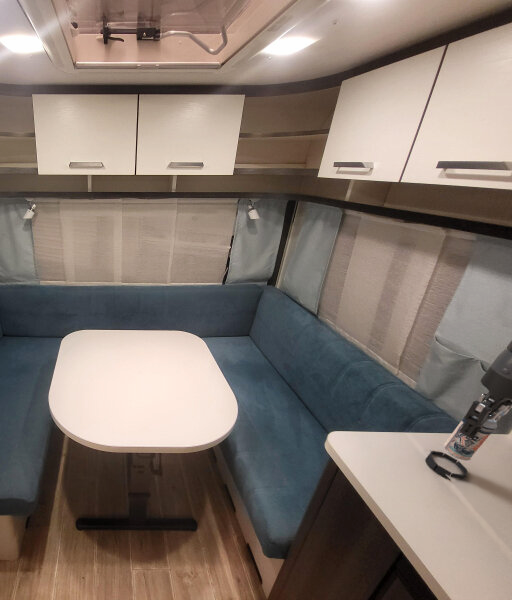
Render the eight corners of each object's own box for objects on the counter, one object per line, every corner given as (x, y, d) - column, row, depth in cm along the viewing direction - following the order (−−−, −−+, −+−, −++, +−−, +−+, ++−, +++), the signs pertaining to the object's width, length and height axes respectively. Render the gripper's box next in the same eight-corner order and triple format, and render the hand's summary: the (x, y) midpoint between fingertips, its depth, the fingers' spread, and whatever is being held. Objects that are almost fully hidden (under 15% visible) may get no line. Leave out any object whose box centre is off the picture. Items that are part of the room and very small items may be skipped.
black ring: (448, 459, 80) (452, 453, 79) (470, 484, 74) (475, 478, 73) (418, 454, 81) (422, 448, 80) (438, 478, 75) (443, 472, 74)
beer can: (442, 453, 74) (470, 416, 69) (441, 441, 78) (467, 405, 73) (470, 465, 72) (501, 428, 66) (468, 453, 75) (497, 417, 70)
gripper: (527, 392, 59) (477, 453, 66) (561, 379, 63) (511, 437, 71) (475, 368, 65) (434, 426, 72) (510, 358, 70) (468, 413, 77)
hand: (472, 431), depth 71 cm, fingers closed on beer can, 4 cm apart
